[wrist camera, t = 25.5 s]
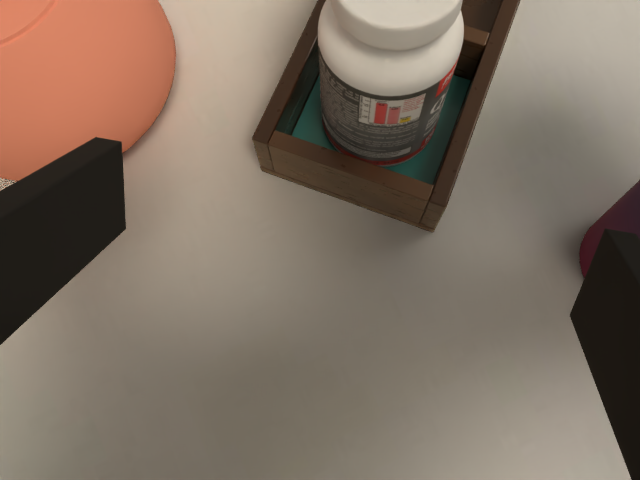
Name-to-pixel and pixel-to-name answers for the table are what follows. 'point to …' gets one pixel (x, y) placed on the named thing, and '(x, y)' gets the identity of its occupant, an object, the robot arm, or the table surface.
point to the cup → (612, 224)
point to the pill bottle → (386, 74)
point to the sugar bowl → (79, 76)
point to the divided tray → (365, 178)
